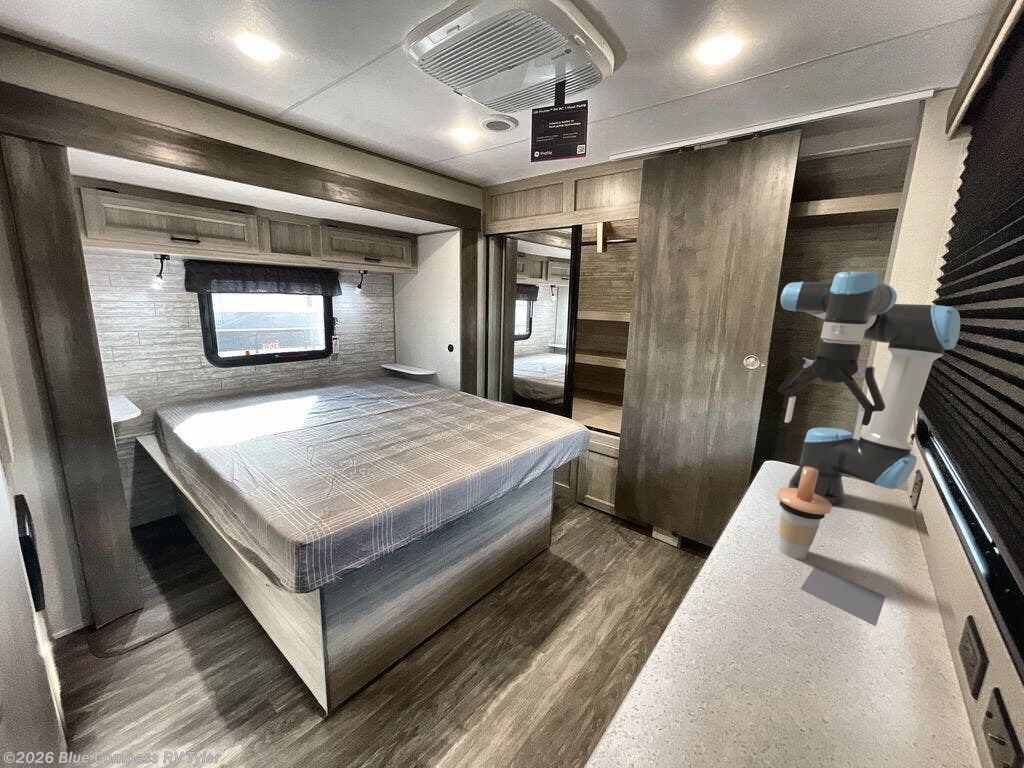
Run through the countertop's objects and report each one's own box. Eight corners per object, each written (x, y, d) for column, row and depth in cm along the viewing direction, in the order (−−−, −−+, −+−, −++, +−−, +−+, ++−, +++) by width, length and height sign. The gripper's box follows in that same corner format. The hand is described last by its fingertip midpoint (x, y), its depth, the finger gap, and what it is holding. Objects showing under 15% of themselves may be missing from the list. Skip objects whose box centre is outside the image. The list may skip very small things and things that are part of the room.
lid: (784, 486, 108) (791, 456, 106) (836, 504, 100) (844, 471, 98) (770, 499, 101) (777, 467, 99) (824, 519, 93) (833, 484, 91)
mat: (815, 567, 99) (815, 565, 99) (884, 598, 90) (885, 595, 90) (799, 591, 91) (800, 588, 91) (874, 628, 81) (875, 625, 81)
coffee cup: (821, 568, 99) (834, 514, 95) (779, 562, 101) (791, 509, 97) (802, 545, 108) (814, 495, 104) (764, 539, 110) (774, 490, 106)
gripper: (773, 336, 98) (757, 418, 103) (914, 350, 80) (887, 449, 85) (783, 334, 103) (767, 413, 108) (918, 347, 84) (892, 441, 89)
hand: (820, 429), depth 96 cm, fingers open, 13 cm apart
